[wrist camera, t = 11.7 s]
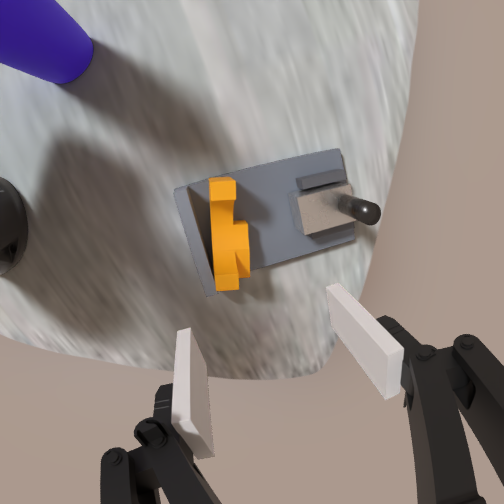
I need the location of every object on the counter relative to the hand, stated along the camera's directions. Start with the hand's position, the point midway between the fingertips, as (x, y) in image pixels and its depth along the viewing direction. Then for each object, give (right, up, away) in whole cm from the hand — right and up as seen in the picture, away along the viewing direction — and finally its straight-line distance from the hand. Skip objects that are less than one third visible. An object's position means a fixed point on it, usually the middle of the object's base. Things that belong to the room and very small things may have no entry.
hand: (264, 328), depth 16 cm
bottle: (-26, +30, +13) cm, 42 cm away
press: (+2, +9, +24) cm, 26 cm away
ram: (+8, +10, +23) cm, 26 cm away
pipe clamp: (-4, +8, +22) cm, 24 cm away
